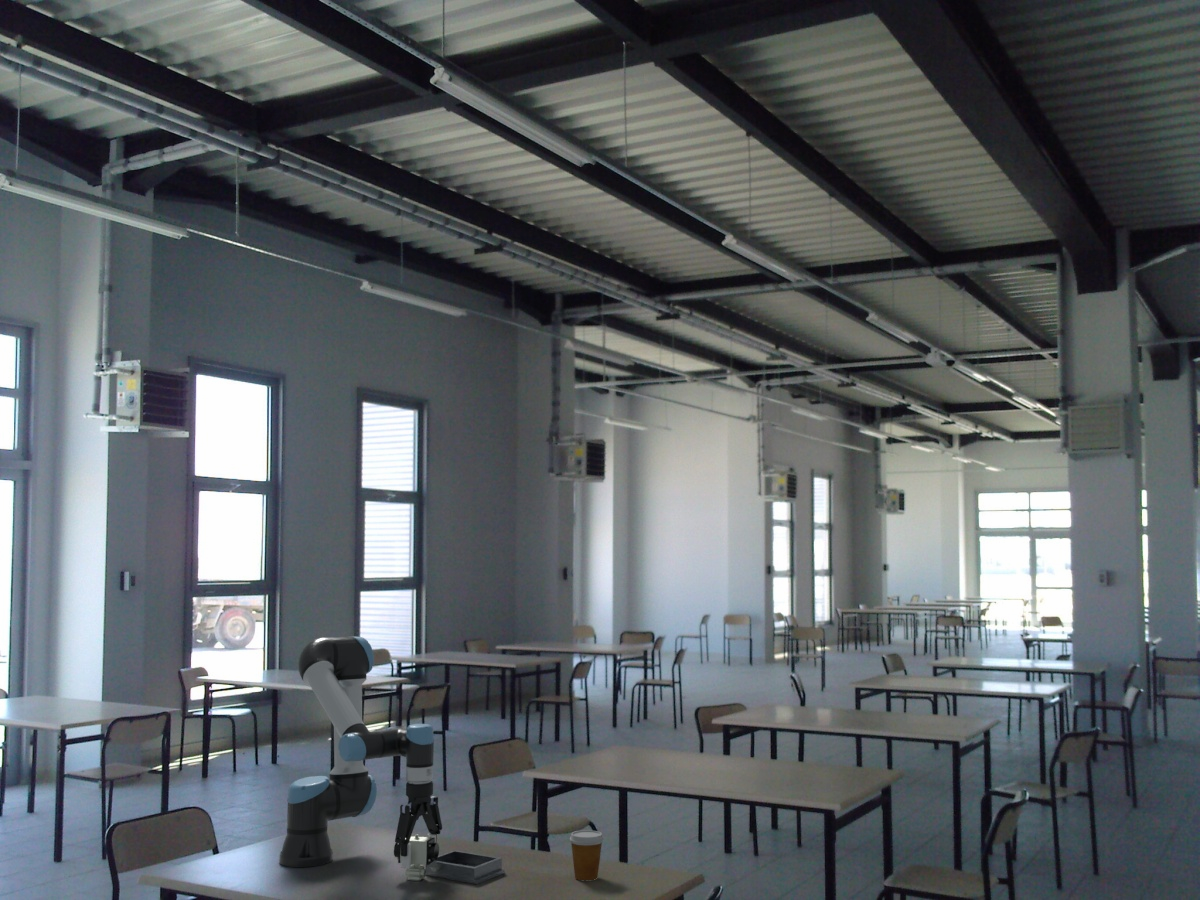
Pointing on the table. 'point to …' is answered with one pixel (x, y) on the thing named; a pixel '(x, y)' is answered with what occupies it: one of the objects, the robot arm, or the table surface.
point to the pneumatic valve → (419, 855)
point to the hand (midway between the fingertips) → (418, 862)
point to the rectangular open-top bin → (465, 867)
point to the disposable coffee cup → (586, 853)
